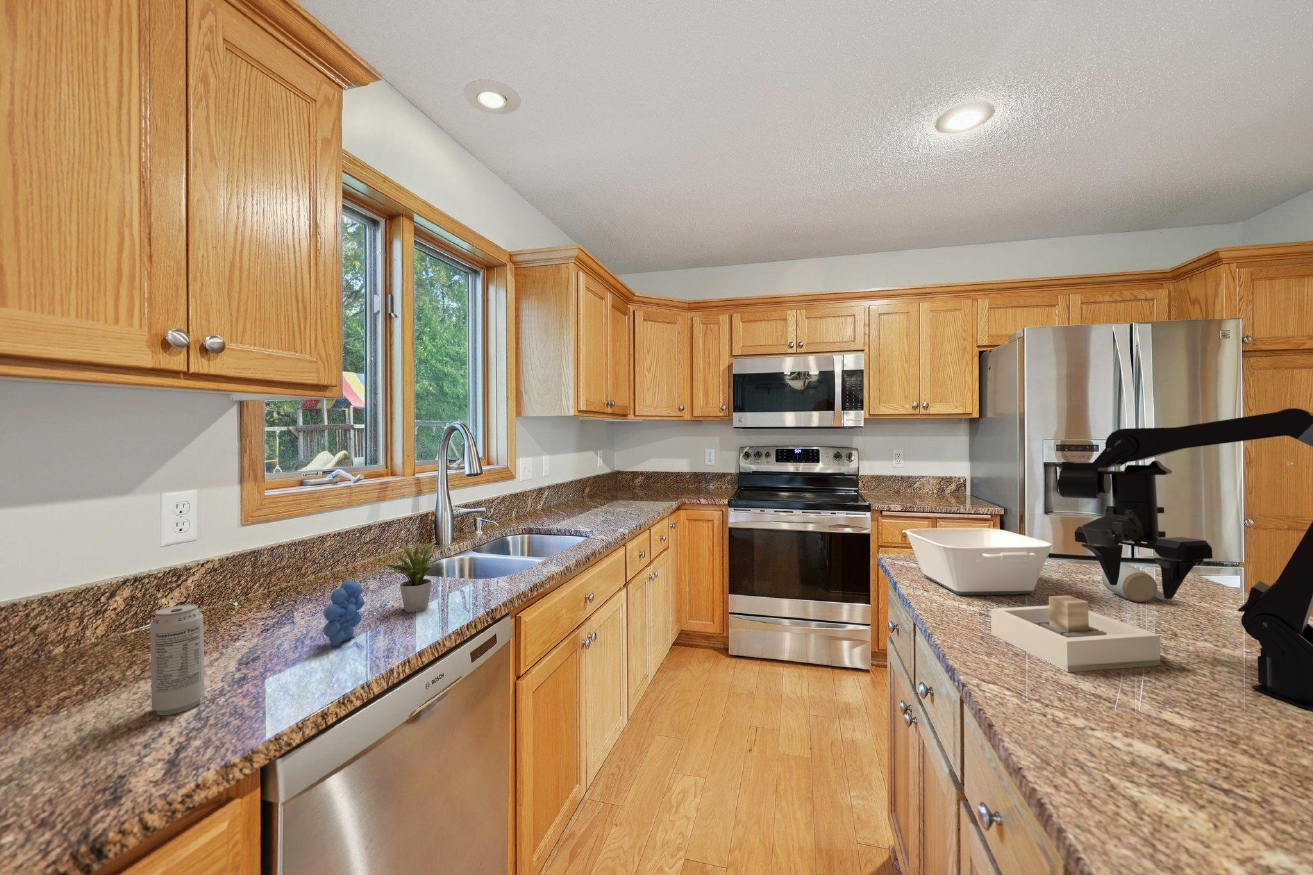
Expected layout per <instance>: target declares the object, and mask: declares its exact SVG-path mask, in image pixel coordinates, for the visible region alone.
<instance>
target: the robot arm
mask: <svg viewBox="0 0 1313 875" xmlns="http://www.w3.org/2000/svg"><path fill="white" fill-rule="evenodd" d="M1284 436H1285V437H1291V438H1293V439H1295V440H1297V441H1299V442H1301V443H1304V444H1306V445H1307V446H1310V447H1312V448H1313V412H1311V411H1310V410H1307V409H1303V408H1296V407H1293V408H1285V409H1282V410H1279V411H1275V412H1267V413H1262V414H1255V415H1249V416H1242V417H1235V418H1229V419H1222V420H1217V421H1210V422H1209V421H1208V422H1203V423H1196V424H1189V425H1183V426H1175V427H1139V428H1134V427H1133V428H1120V429H1116V430H1114V431H1112V432H1111V433H1110V434H1109V436H1107V438H1106V440H1105V443H1104V444H1105V445H1104V446H1105V448H1104V449H1103V450H1102V452H1101V453H1099V454H1098V455H1097V457H1096V458H1095V459H1094V460H1093V462H1078V461H1062V462H1061V469H1060V471H1059V475H1058V479H1057V481H1056V485H1057V490H1058V494H1059V495H1060V497H1062V498H1068V499H1090V500H1091V499H1093V500H1102V499H1103V498H1104V495H1107V494H1110V492H1112V505H1107V506H1106V508H1105V514H1104V515H1103V516H1102V517H1099V518H1095V519H1093V520H1091V521H1088V522H1087V523H1085V524H1083V525H1081V526H1080V525H1079V526H1078V527H1077V528H1076V529H1075V531H1074V542H1077V543H1081V547H1082V548H1085V549H1088V550H1089V551H1090V552H1091V553H1092V554H1094V556H1095V557H1096V560H1098V563H1099V565H1100V566H1101V567H1100V568H1102V572H1103V571H1104V573H1105V575H1106V577H1107V579H1108V581H1109V584H1110V585H1117V583H1118V579H1119V573H1120V565H1121V562H1122V554H1123V546H1124V545H1125V546H1131V547H1136V548H1143V549H1144V548H1145V549H1148V550H1149V549H1150V550H1154V552H1155V553H1156V554H1157V555H1158V557H1153V560H1154V561H1155V562H1156V563H1157V564H1158V565H1159V567H1160V574H1161V587H1162V588H1161V589H1162V593H1163V594H1164V598H1165V599H1166V600H1172V599H1173V598H1174V597H1175V595H1176V594H1177V592H1178V590H1179V588H1180V587H1181V585H1182V583H1183V582H1184V580H1185V579H1186V577H1187V576H1188V574H1190V572H1191V571H1192V570H1193V568H1194V567H1195V566H1196V565H1197V564H1198V563H1204V560H1211V559H1213V547H1212V545H1211V544H1210V543H1209V542H1208V541H1207V540H1204V539H1199V538H1198V539H1197V538H1193V537H1192V538H1191V537H1185V536H1180V537H1178V536H1175V537H1166V536H1167V535H1166V531H1163V530H1159V529H1160V528H1159V514H1164V513H1165V506H1164V507H1163V506H1158V500H1157V499H1158V498H1157V497H1158V496H1157V495H1158V494H1157V478H1156V476H1166V475H1171V474H1172V473H1173V470H1172V469H1170V468H1168V467H1166V466H1165V465H1164V464H1162V463H1161V461H1159V460H1153V461H1151V462H1150V463H1149V464H1128V465H1126V466H1125V467H1124V470H1108V468H1112V467H1113V468H1115V467H1121V466H1122V467H1123V465H1125V464H1127V463H1131V462H1138V461H1139V462H1140V461H1144V460H1148V459H1152V458H1153V459H1154V458H1156V457H1160V456H1163V455H1168V454H1172V453H1175V452H1179V451H1182V450H1186V449H1193V448H1198V447H1199V448H1200V447H1206V446H1215V445H1222V444H1230V443H1238V442H1248V441H1253V440H1260V439H1263V440H1264V439H1270V438H1277V437H1279V438H1280V437H1284ZM1111 490H1112V491H1111ZM1237 611H1238V612H1242V613H1243V614H1242V615H1241V621H1240V622H1241V626H1242V628H1243V629H1244V631H1245V632H1246V633H1247V634H1248V635H1249V636H1250V637H1251V638H1252V639H1254V640H1256V641H1258V643H1259V645H1260V648H1259V649H1260V652H1259V653H1260V655H1257V656H1256V657H1257V664H1256V665H1257V682H1258V684H1252V685H1251V689H1253V690H1255V691H1257V692H1260V693H1262V694H1265V695H1267V696H1269V697H1273V698H1276V699H1278V700H1281V701H1283V702H1286V703H1288V704H1291V705H1294V706H1297V707H1299V708H1301V709H1305V710H1313V626H1312V625H1311V624H1310V623H1309V620H1310V617H1311V613H1312V611H1313V520H1312V521H1311V524H1310V525H1309V527H1308V528H1307V530H1306V532H1305V533H1304V535H1303V537H1302V539H1300V542H1299V543H1298V544H1297V546H1296V548H1295V549H1294V551H1293V553H1292V555H1291V557H1290V559H1289V560H1288V562H1287V563H1286V564H1285V566H1284V568H1283V570H1282V572H1281V573H1280V575H1279V576H1278V578H1277V580H1276V581H1274V582H1273V584H1272V585H1268V583H1267V584H1266V583H1265V582H1264V581H1261V580H1258V582H1256V583H1255V584H1254V585H1253V586H1251V588H1250V590H1249V593H1248V597H1247V600H1246V601H1245V602H1244V603H1243V604H1242V605H1241V606H1240V607H1239V608H1238V609H1237Z"/></svg>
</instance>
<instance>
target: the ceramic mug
mask: <svg viewBox="0 0 1313 875" xmlns="http://www.w3.org/2000/svg"><path fill="white" fill-rule="evenodd" d="M1101 581H1102V584H1103V586H1104V587H1105V589H1107V590H1108V591H1109V592H1111V593H1113V594H1116V595H1118V596H1120V597H1122V598H1125V599H1126V600H1129V601H1132V602H1134V603H1135V602H1137V603H1144V602H1148V601H1151V600H1153V598H1155V599H1157V600H1160V601H1163V602H1165V601H1166V600H1167V599H1165V598H1164V594H1163V591H1159V590H1158V588H1159V587H1158V584H1157V582H1156V580H1155V578H1153V577H1152V576H1151V575H1150V574H1149V573H1148V572H1146V571H1143V570H1141V569H1139V568H1136V567H1135V566H1133V565H1131V564H1128V563H1126V562H1122V561H1121V565H1120V573H1119V579H1118V583H1117V585H1110V584H1109V581H1108V579H1107V577H1106V575H1105V573H1104V571H1103V570H1102V575H1101Z"/></svg>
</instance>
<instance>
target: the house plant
mask: <svg viewBox="0 0 1313 875" xmlns="http://www.w3.org/2000/svg"><path fill="white" fill-rule="evenodd" d="M436 542H437V540H436V541H432V542H429V543H425V545H424V546H423V547H422V548H421V551H420V553H419V547H420V546H419V545H420V544H419V541H417V543H415V544H416V547H415V549H414V548H410V547H409V546H408V545H406V544H404V543H402V545H403V546H402V545H400V547H401V549H403V550H404V552H405V554H406V555H407V557H408V559H409V561H408V560H407V559H406V558H405V557H404V556H402V555H401V554H399V553H397V552H394V551H389V550H386V551H385V552H386V553H387V552H388V555H392V556H395V557H396V558H397V559H398V560H400V561H401V562H402V563H403V565H401V564H395V563H379V565H381V566H385V569H389V570H392V571H391V572H389V573H388V574H386V577H389V576H390V575H393V574H396V573H397V574H399V576H400V577H402V578H404V579H405V580H404V581H402V582H400V583H399V588H400V593H401V599H402V604H403V609H404V611H405V612H409V613H412V612H413V613H414V612H420V611H424V610H426V609H427V608H428V607H429V602H430V595H431V589H432V583H433V580H432V579H430V578H425V576H426V575H427V574H428V572H429V571H430V570H432V569H434V568H436V567H438V565H434V564H433V562H430V563H429V561H430V560H431V559H432V557H433V555H434V554H436V552H437V549H435V550H434V551H433V548H435V543H436ZM411 550H412V552H411ZM432 551H433V553H431V552H432ZM389 553H393V554H389ZM409 562H410V563H409ZM430 565H432V567H429V566H430ZM386 567H388V568H386ZM440 567H441V568H443V567H442V565H440ZM385 569H384V570H385ZM403 575H404V576H403Z"/></svg>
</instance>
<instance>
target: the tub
mask: <svg viewBox="0 0 1313 875" xmlns="http://www.w3.org/2000/svg"><path fill="white" fill-rule="evenodd" d="M905 533H906V535H907V537H908V540H909V543H910V545H911V547H912V550H913V552H914V556H915V558H916V561H917V563H918V566H919V568H920V571H921V573H922V575H923V576H924V577H925V576H926V577H927V579H928V578H929V579H928V580H930V579H931V580H930V581H933V582H934V583H935V582H936V583H935V584H937V583H938V585H939V584H940V585H939V586H941V585H942V586H941V587H943V586H944V587H943V588H945V589H946V590H948V589H949V591H950V590H951V591H950V592H952V593H954V594H957V595H958V596H1015V595H1016V596H1019V595H1018V594H1026V595H1030V594H1031V593H1033V592H1034V591H1035V587H1036V585H1037V583H1038V580H1039V578H1040V575H1041V572H1042V570H1043V568H1044V565H1045V563H1046V560H1047V558H1048V555H1049V553H1050V551H1051V549H1052V547H1053V544H1052V543H1051V542H1049V541H1045V540H1041V539H1039V538H1035V537H1034V538H1033V537H1031V536H1027V535H1024V534H1019V533H1015V532H1012V531H1008V530H1004V529H997V528H992V527H991V528H989V527H945V528H943V527H941V528H935V527H933V528H911V529H907V530H906V531H905ZM926 577H925V578H926Z"/></svg>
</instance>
